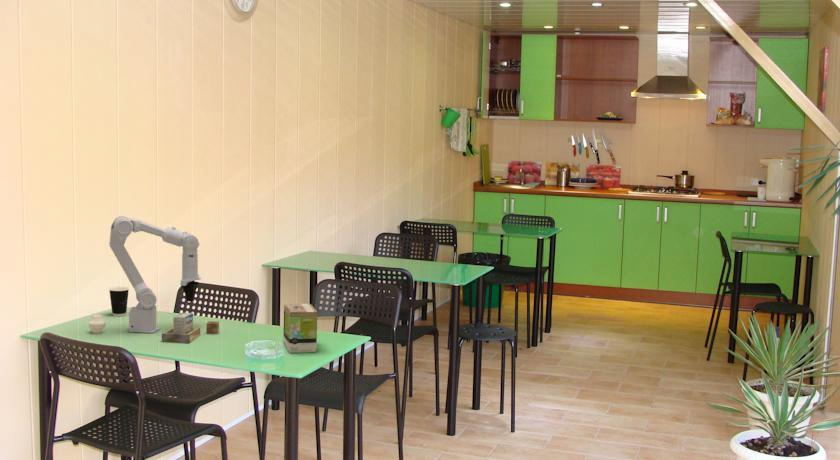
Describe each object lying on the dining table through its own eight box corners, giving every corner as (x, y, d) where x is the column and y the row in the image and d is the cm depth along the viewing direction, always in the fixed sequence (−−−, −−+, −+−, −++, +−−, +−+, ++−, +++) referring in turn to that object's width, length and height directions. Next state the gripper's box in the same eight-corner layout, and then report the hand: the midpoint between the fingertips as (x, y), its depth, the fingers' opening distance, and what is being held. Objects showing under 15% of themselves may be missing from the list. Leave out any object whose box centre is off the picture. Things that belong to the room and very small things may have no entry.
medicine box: (185, 340, 328) (184, 317, 326) (173, 340, 328) (173, 316, 327) (193, 335, 335) (193, 312, 334) (182, 335, 336) (182, 312, 335)
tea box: (317, 352, 317) (318, 310, 315) (288, 353, 314) (289, 311, 312) (310, 342, 331) (310, 302, 329) (282, 343, 328) (283, 303, 326)
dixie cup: (128, 317, 363) (128, 290, 362) (107, 317, 362) (107, 290, 360) (130, 312, 371) (130, 286, 370) (110, 313, 369) (109, 286, 368)
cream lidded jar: (84, 333, 335) (84, 314, 334) (97, 329, 340) (97, 311, 339) (96, 335, 332) (96, 316, 331) (109, 332, 337) (109, 313, 337)
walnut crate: (206, 334, 339) (206, 323, 338) (208, 331, 343) (208, 321, 342) (217, 334, 339) (217, 323, 339) (218, 331, 343) (218, 321, 343)
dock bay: (161, 341, 325) (161, 333, 325) (174, 334, 337) (174, 326, 337) (188, 343, 324) (188, 334, 324) (200, 335, 336) (200, 327, 336)
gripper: (193, 269, 337) (193, 305, 339) (206, 263, 352) (206, 298, 353) (175, 268, 338) (175, 304, 340) (188, 262, 353) (189, 297, 354)
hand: (190, 301), depth 347 cm, fingers closed
